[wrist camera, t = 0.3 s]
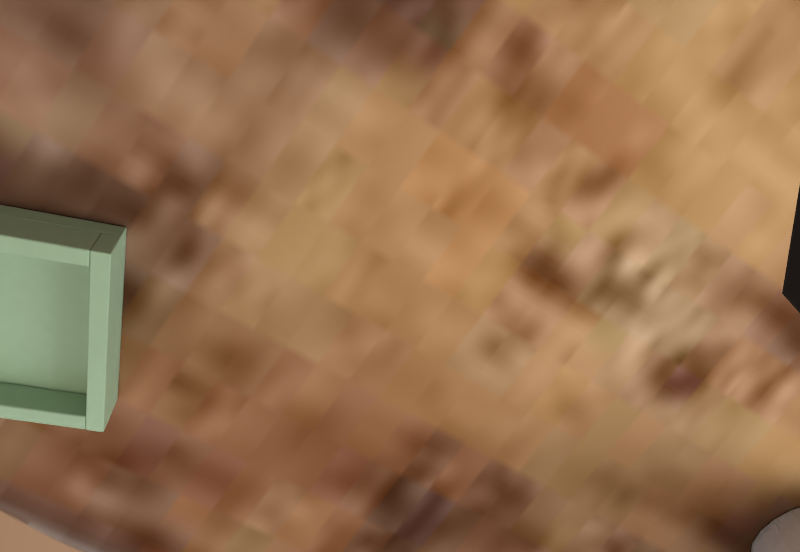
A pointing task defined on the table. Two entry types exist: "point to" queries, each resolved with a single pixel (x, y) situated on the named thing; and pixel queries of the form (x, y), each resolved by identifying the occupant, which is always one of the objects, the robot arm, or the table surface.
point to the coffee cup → (780, 534)
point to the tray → (59, 318)
